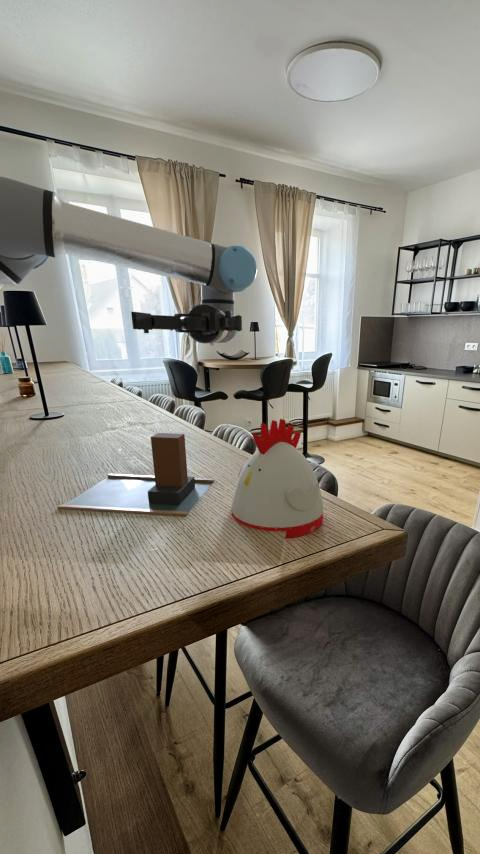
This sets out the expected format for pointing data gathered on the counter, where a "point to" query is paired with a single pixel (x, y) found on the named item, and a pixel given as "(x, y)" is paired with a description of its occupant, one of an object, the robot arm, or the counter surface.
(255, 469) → the kitchen timer
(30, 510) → the counter surface
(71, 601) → the counter surface
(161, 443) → the eraser
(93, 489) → the chalkboard
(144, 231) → the robot arm
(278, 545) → the counter surface
